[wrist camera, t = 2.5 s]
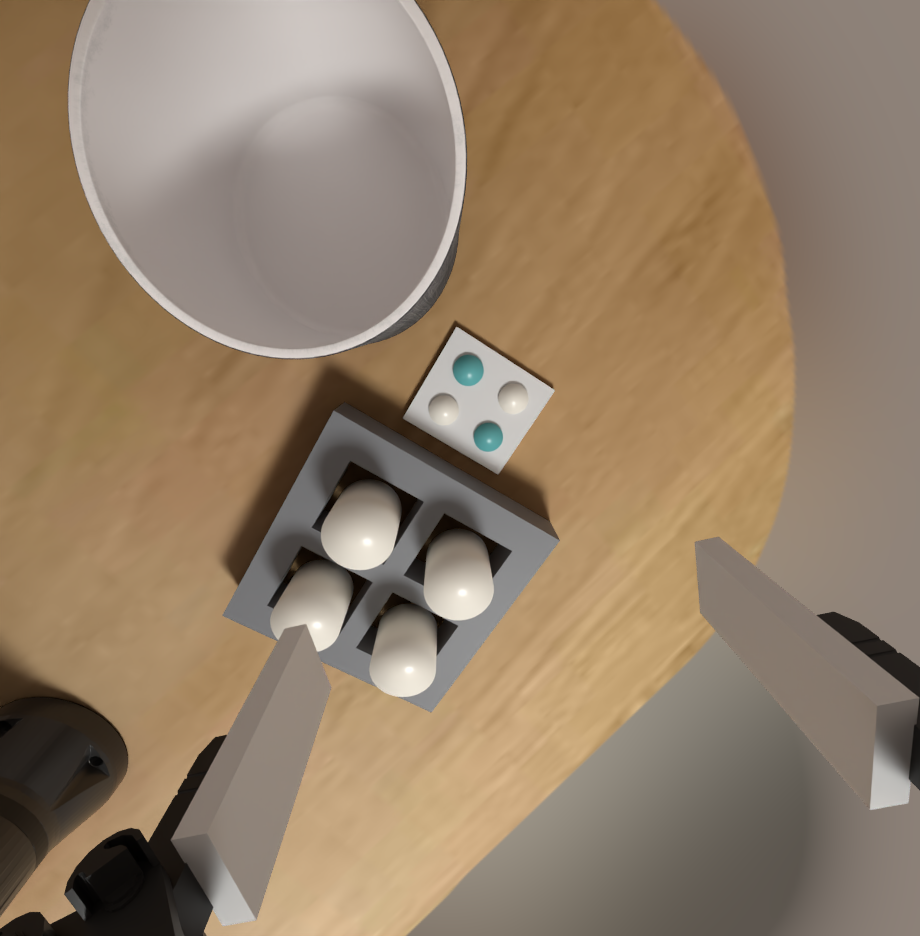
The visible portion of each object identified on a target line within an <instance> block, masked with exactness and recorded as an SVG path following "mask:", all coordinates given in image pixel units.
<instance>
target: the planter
mask: <svg viewBox="0 0 920 936" xmlns="http://www.w3.org/2000/svg"><path fill="white" fill-rule="evenodd" d="M68 119H69V131H70V138H71V145H72V150H73V155H74V160H75V164H76V168H77V171H78V175H79V179H80V182H81V185H82V188H83V191H84V194H85V196H86V199H87V202H88V204H89V206H90V209H91V211H92V213H93V216H94V218H95V220H96V222H97V224H98V226H99V228H100V230H101V232H102V233H103V235H104V237H105V238H106V240H107V242H108V244H109V245H110V247H111V248H112V250H113V251H114V253H115V254H116V256H117V257H118V259H119V260H120V262H121V263H122V264H123V266H124V267H125V268H126V270H127V271H128V272H129V274H130V275H131V276H132V277H133V278H134V279H135V281H136V282H137V283H138V284H139V285H140V286H141V287H142V288H143V289H144V291H145V292H146V293H147V294H148V295H149V296H150V297H151V298H152V299H154V300H155V301H156V302H157V303H158V304H159V305H160V306H161V307H162V308H164V309H165V310H166V311H167V312H169V313H170V314H171V315H172V316H174V317H175V318H176V319H178V320H179V321H181V322H182V323H184V324H185V325H186V326H188V327H189V328H191V329H193V330H195V331H196V332H198V333H200V334H201V335H203V336H205V337H207V338H209V339H211V340H213V341H215V342H217V343H220V344H222V345H225V346H227V347H230V348H233V349H236V350H239V351H242V352H245V353H249V354H253V355H257V356H263V357H269V358H278V359H310V358H318V357H324V356H329V355H333V354H337V353H341V352H344V351H348V350H351V349H354V348H357V347H360V346H363V345H367V344H370V343H375V342H379V341H382V340H385V339H388V338H391V337H393V336H395V335H397V334H399V333H401V332H403V331H405V330H406V329H408V328H409V327H411V326H412V325H413V324H415V323H416V322H417V321H418V320H420V319H421V318H422V317H423V316H424V315H425V314H426V313H427V312H428V311H429V310H430V308H431V307H432V306H433V305H434V303H435V302H436V301H437V299H438V298H439V296H440V294H441V293H442V291H443V289H444V287H445V285H446V283H447V281H448V279H449V276H450V274H451V271H452V268H453V265H454V261H455V257H456V253H457V246H458V236H459V228H460V222H461V216H462V209H463V203H464V196H465V189H466V177H467V145H466V133H465V125H464V118H463V112H462V107H461V102H460V98H459V94H458V90H457V86H456V83H455V80H454V77H453V74H452V71H451V68H450V65H449V62H448V60H447V58H446V55H445V53H444V50H443V48H442V46H441V44H440V42H439V40H438V38H437V36H436V34H435V32H434V30H433V28H432V26H431V25H430V23H429V21H428V19H427V18H426V16H425V14H424V13H423V11H422V10H421V8H420V7H419V5H418V4H417V2H416V1H415V0H89V2H88V5H87V7H86V9H85V12H84V14H83V17H82V19H81V22H80V25H79V29H78V32H77V35H76V39H75V43H74V47H73V52H72V57H71V63H70V70H69V81H68Z"/></svg>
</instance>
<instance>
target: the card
mask: <svg viewBox="0 0 920 936" xmlns="http://www.w3.org/2000/svg"><path fill="white" fill-rule="evenodd" d="M554 391H555V390H554V389H552V388H551V387H549V386H548V385H546V384H545V383H543V382H541V381H540V380H538V379H537V378H535V377H534V376H532V375H531V374H529V373H528V372H526V371H524V370H523V369H521V368H520V367H518V366H517V365H515V364H514V363H512V362H511V361H509V360H507V359H506V358H504V357H503V356H501V355H500V354H498V353H497V352H495V351H494V350H492V349H490V348H489V347H487V346H486V345H484V344H483V343H481V342H480V341H478V340H477V339H475V338H473V337H472V336H470V335H469V334H467V333H466V332H464V331H463V330H461V329H460V328H458V327H456V328H455V330H454V332H453V334H452V335H451V337H450V339H449V340H448V342H447V344H446V345H445V347H444V349H443V350H442V352H441V354H440V356H439V357H438V359H437V361H436V362H435V364H434V366H433V367H432V369H431V371H430V373H429V374H428V376H427V378H426V379H425V381H424V383H423V384H422V386H421V388H420V390H419V391H418V393H417V395H416V396H415V398H414V400H413V401H412V403H411V405H410V406H409V408H408V410H407V412H406V413H405V415H404V417H403V419H405V420H406V421H408V422H410V423H411V424H413V425H415V426H416V427H418V428H420V429H422V430H423V431H425V432H427V433H428V434H430V435H432V436H433V437H435V438H437V439H438V440H440V441H442V442H444V443H445V444H447V445H449V446H450V447H452V448H454V449H455V450H457V451H459V452H461V453H462V454H464V455H466V456H467V457H469V458H471V459H472V460H474V461H476V462H477V463H479V464H481V465H483V466H484V467H486V468H488V469H489V470H491V471H493V472H494V473H496V474H499V473H500V471H501V470H502V468H503V467H504V465H505V464H506V462H507V461H508V459H509V458H510V457H511V455H512V454H513V452H514V451H515V449H516V448H517V446H518V445H519V443H520V442H521V440H522V439H523V437H524V436H525V434H526V433H527V431H528V430H529V428H530V427H531V425H532V424H533V422H534V421H535V419H536V418H537V416H538V415H539V413H540V412H541V411H542V409H543V408H544V406H545V405H546V403H547V402H548V400H549V399H550V397H551V396H552V394H553V393H554Z"/></svg>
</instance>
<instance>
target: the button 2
mask: <svg viewBox="0 0 920 936" xmlns="http://www.w3.org/2000/svg"><path fill="white" fill-rule="evenodd" d="M401 515H402V506H401V502H400V499H399V497H398V495H397V494H396V492H395V491H394V490H393V489H392V488H391V487H390V486H388V485H387V484H385V483H383V482H381V481H378V480H373V479H363V480H359V481H356V482H353V483H352V484H350V485H349V486H347V487H346V488H345V489H344V490H343V492H342V493H341V495H340V496H339V498H338V500H337V501H336V503H335V504H334V506H333V508H332V509H331V511H330V512H329V514H328V516H327V517H326V519H325V521H324V523H323V525H322V529H321V541H322V545H323V547H324V550H325V551H326V553H327V554H328V556H329V557H330V558H331V559H332V560H333V561H335V562H336V563H337V564H339V565H341V566H343V567H345V568H348V569H353V570H367V569H371V568H374V567H377V566H378V565H380V564H382V563H383V562H384V561H385V560H386V559H387V558H388V557H389V556H390V554H391V553H392V551H393V548H394V544H395V540H396V536H397V532H398V528H399V523H400V519H401Z"/></svg>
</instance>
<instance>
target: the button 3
mask: <svg viewBox="0 0 920 936" xmlns="http://www.w3.org/2000/svg"><path fill="white" fill-rule="evenodd" d="M436 654H437V623H436V620H435V618H434V616H433V615H432V614H431V613H430V612H429V611H428V610H427V609H425V608H423V607H421V606H419V605H416V604H400V605H396V606H394V607H392V608H390V609H389V610H387V611H386V612H385V613H384V615H383V616H382V618H381V619H380V622H379V627H378V631H377V635H376V640H375V644H374V649H373V653H372V657H371V662H370V667H369V672H370V676H371V679H372V681H373V683H374V684H375V685H376V686H377V687H378V688H379V689H380V690H382V691H383V692H385V693H387V694H389V695H392V696H397V697H409V696H414V695H417V694H419V693H421V692H423V691H425V690H426V689H427V688H428V687H429V686H430V685H431V684H432V682H433V680H434V678H435V675H436Z"/></svg>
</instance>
